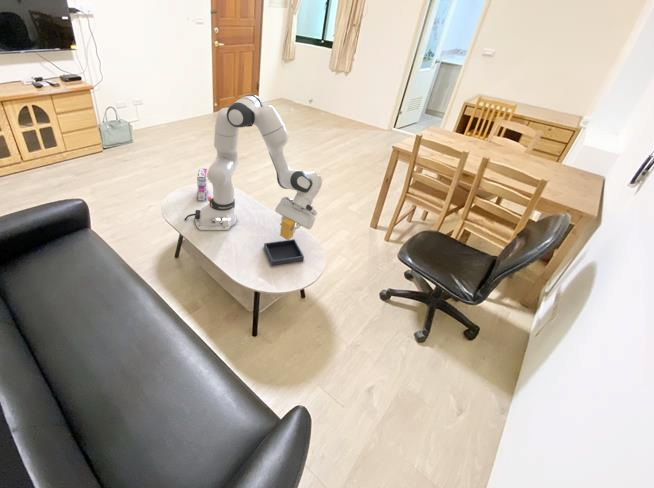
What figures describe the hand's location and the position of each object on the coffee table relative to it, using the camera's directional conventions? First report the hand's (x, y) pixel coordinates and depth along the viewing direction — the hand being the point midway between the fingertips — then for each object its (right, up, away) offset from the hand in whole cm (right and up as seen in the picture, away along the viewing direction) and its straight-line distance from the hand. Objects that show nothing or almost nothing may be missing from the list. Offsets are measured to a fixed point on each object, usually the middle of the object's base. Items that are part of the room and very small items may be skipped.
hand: (286, 228), depth 159 cm
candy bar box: (-50, +17, +45) cm, 69 cm away
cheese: (0, -4, +3) cm, 5 cm away
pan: (-2, -14, +8) cm, 16 cm away
